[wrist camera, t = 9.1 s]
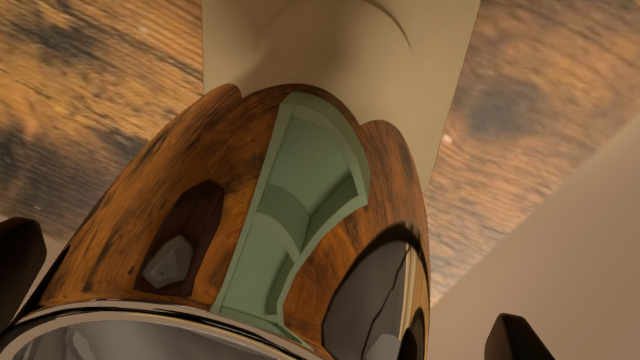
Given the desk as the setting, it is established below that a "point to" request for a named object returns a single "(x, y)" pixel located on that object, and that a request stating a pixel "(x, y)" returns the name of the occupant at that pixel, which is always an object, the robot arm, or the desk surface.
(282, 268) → the beer glass
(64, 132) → the desk surface
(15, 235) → the robot arm
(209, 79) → the coaster
